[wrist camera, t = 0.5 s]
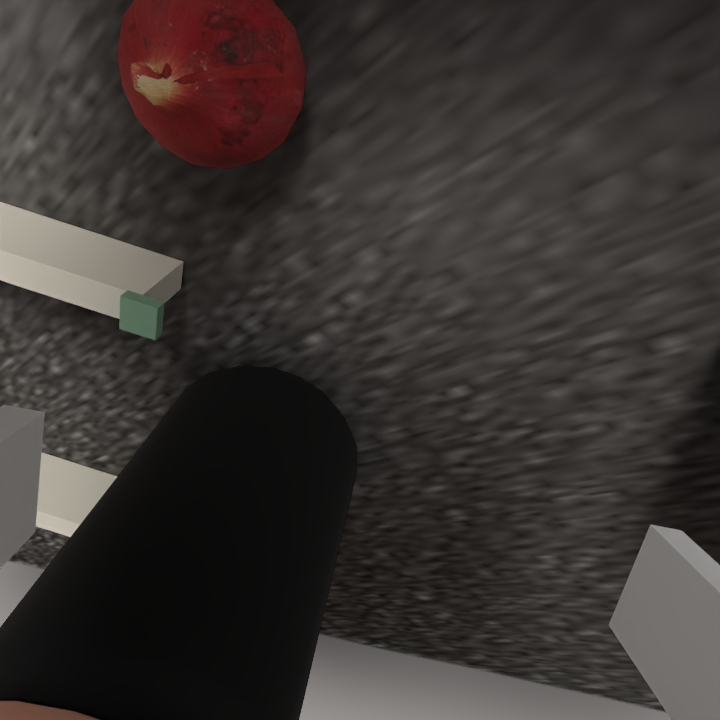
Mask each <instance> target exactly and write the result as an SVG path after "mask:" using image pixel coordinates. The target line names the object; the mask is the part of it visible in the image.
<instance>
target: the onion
mask: <svg viewBox="0 0 720 720" xmlns="http://www.w3.org/2000/svg"><path fill="white" fill-rule="evenodd" d="M117 57H118V63H119V69H120V75H121V81H122V87H123V89H124V92H125V94H126V96H127V98H128V100H129V103H130V105H131V107H132V109H133V112H134V114H135V116H136V118H137V119H138V120H139V122H140V123H141V124H142V125H143V126H144V127H145V128H146V129H147V130H148V132H149V133H150V134H151V135H152V136H153V137H154V138H155V139H156V141H157V142H158V143H159V144H160V145H161V146H162V147H164V148H165V149H167V150H169V151H170V152H172V153H174V154H176V155H177V156H179V157H181V158H182V159H184V160H186V161H187V162H189V163H191V164H195V165H199V166H207V167H215V168H223V169H230V168H234V167H237V166H240V165H244V164H247V163H251V162H254V161H257V160H261V159H263V158H264V157H265V156H266V155H268V154H269V153H270V152H271V151H273V150H274V149H275V148H276V147H278V146H279V145H280V144H281V143H283V142H284V141H285V139H286V137H287V136H288V134H289V132H290V130H291V128H292V126H293V124H294V122H295V120H296V118H297V116H298V114H299V112H300V110H301V108H302V107H303V98H304V89H305V80H306V71H307V68H306V64H305V61H304V57H303V54H302V50H301V47H300V43H299V40H298V36H297V33H296V29H295V27H294V26H293V25H292V24H291V22H290V21H289V20H288V18H287V17H286V16H285V15H284V13H283V12H282V11H281V10H280V8H279V7H278V6H277V5H276V3H275V2H274V1H273V0H134V1H133V3H132V4H131V5H130V7H129V8H128V9H127V11H126V12H125V13H124V14H123V18H122V24H121V30H120V37H119V43H118V49H117Z"/></svg>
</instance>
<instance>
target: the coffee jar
mask: <svg viewBox="0 0 720 720" xmlns="http://www.w3.org/2000/svg"><path fill="white" fill-rule="evenodd" d="M356 473H357V447H356V444H355V441H354V439H353V436H352V434H351V431H350V429H349V427H348V424H347V422H346V419H345V418H344V416H343V415H342V414H341V413H340V411H339V410H338V409H337V408H336V407H335V405H334V404H333V403H332V402H331V401H330V400H329V399H328V397H327V396H326V395H325V394H324V393H323V392H322V391H320V390H319V389H317V388H316V387H314V386H313V385H311V384H310V383H308V382H307V381H305V380H304V379H302V378H301V377H298V376H295V375H293V374H290V373H287V372H284V371H281V370H278V369H275V368H267V367H254V366H238V367H234V368H229V369H225V370H220V371H216V372H212V373H209V374H207V375H205V376H204V377H202V378H201V379H199V380H198V381H196V382H195V383H193V384H191V385H190V386H188V387H187V388H186V389H185V390H184V392H183V393H182V394H181V395H180V397H179V398H178V399H177V401H176V402H175V403H174V404H173V406H172V407H171V408H170V410H169V411H168V412H167V413H166V415H165V416H164V417H163V419H162V420H161V421H160V422H159V424H158V425H157V426H156V428H155V429H154V430H153V431H152V433H151V434H150V435H149V437H148V438H147V439H146V440H145V442H144V443H143V444H142V446H141V447H140V448H139V449H138V451H137V452H136V453H135V455H134V456H133V457H132V458H131V460H130V461H129V462H128V464H127V465H126V466H125V467H124V469H123V470H122V471H121V473H120V474H119V475H118V476H117V478H116V479H115V480H114V482H113V483H112V484H111V486H110V487H109V488H108V489H107V491H106V492H105V493H104V495H103V496H102V497H101V498H100V500H99V501H98V502H97V504H96V505H95V506H94V507H93V509H92V510H91V511H90V513H89V514H88V515H87V516H86V518H85V519H84V520H83V522H82V523H81V524H80V525H79V527H78V528H77V529H76V531H75V532H74V533H73V534H72V536H71V537H70V538H69V540H68V541H67V542H66V543H65V545H64V546H63V547H62V549H61V550H60V551H59V552H58V554H57V555H56V556H55V558H54V559H53V560H52V561H51V563H50V564H49V565H48V567H47V568H46V569H45V570H44V572H43V573H42V574H41V576H40V577H39V578H38V580H37V581H36V582H35V584H34V585H33V586H32V587H31V589H30V590H29V591H28V592H27V594H26V595H25V596H24V598H23V599H22V600H21V601H20V603H19V604H18V605H17V607H16V608H15V609H14V610H13V612H12V613H11V614H10V616H9V617H8V618H7V619H6V621H5V622H4V623H3V625H2V626H1V627H0V720H299V717H300V713H301V708H302V704H303V700H304V696H305V691H306V687H307V683H308V679H309V674H310V670H311V666H312V661H313V657H314V653H315V648H316V644H317V640H318V636H319V631H320V627H321V623H322V618H323V614H324V610H325V606H326V601H327V597H328V593H329V588H330V584H331V580H332V576H333V571H334V567H335V563H336V558H337V554H338V550H339V546H340V541H341V537H342V533H343V528H344V524H345V520H346V516H347V511H348V507H349V503H350V498H351V494H352V490H353V486H354V481H355V477H356Z"/></svg>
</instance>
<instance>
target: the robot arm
mask: <svg viewBox="0 0 720 720" xmlns="http://www.w3.org/2000/svg"><path fill="white" fill-rule="evenodd" d="M44 414H45V412H41V411H35V410H30V409H24V408H19V407H14V406H8V405H3V406H2V407H0V568H1V567H2V566H3V565H4V564H5V563H6V562H7V561H8V560H9V559H10V558H11V557H12V556H13V555H14V554H15V553H16V551H17V550H18V549H19V548H20V547H21V546H22V545H23V544H24V543H25V542H26V541H27V540H28V539H29V538H30V537H31V536H32V535H33V533H34V532H35V529H36V516H37V503H38V490H39V478H40V465H41V452H42V439H43V426H44ZM609 626H610V628H611V629H612V631H613V632H614V634H615V635H616V637H617V638H618V640H619V641H620V643H621V644H622V646H623V647H624V649H625V650H626V652H627V653H628V655H629V656H630V658H631V659H632V661H633V662H634V664H635V665H636V667H637V668H638V670H639V671H640V673H641V674H642V676H643V677H644V679H645V680H646V682H647V683H648V685H649V686H650V688H651V689H652V691H653V692H654V694H655V695H656V697H657V698H658V700H659V701H660V703H661V704H662V706H663V708H664V709H665V711H666V712H667V714H668V715H669V717H670V718H671V720H720V565H719V564H718V563H717V562H716V561H715V560H713V559H712V558H711V557H710V556H709V555H708V554H707V553H706V552H705V551H704V550H703V549H701V548H700V547H699V546H698V545H697V544H696V543H695V542H694V541H693V540H692V539H691V538H689V537H688V536H687V535H686V534H685V533H684V532H683V531H682V530H677V529H672V528H666V527H661V526H655V525H650V527H649V529H648V532H647V534H646V536H645V539H644V541H643V544H642V546H641V548H640V551H639V553H638V556H637V558H636V560H635V563H634V565H633V568H632V570H631V572H630V575H629V577H628V580H627V582H626V585H625V587H624V589H623V592H622V594H621V597H620V599H619V601H618V604H617V606H616V609H615V611H614V613H613V616H612V618H611V621H610V623H609Z"/></svg>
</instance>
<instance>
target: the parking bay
mask: <svg viewBox="0 0 720 720" xmlns="http://www.w3.org/2000/svg"><path fill="white" fill-rule="evenodd" d="M183 262H184V261H180V260H177V259H174V258H171V257H168V256H165V255H162V254H159V253H156V252H153V251H150V250H147V249H144V248H141V247H138V246H134V245H131V244H128V243H125V242H122V241H119V240H116V239H113V238H110V237H107V236H104V235H101V234H98V233H95V232H92V231H88V230H85V229H82V228H79V227H76V226H73V225H70V224H67V223H64V222H61V221H58V220H55V219H52V218H49V217H45V216H42V215H39V214H36V213H33V212H30V211H27V210H24V209H21V208H18V207H15V206H12V205H9V204H6V203H3V202H0V280H1V281H4V282H7V283H10V284H13V285H16V286H19V287H22V288H25V289H28V290H31V291H35V292H38V293H41V294H44V295H47V296H50V297H53V298H56V299H59V300H62V301H65V302H68V303H72V304H75V305H78V306H81V307H84V308H87V309H90V310H93V311H96V312H99V313H102V314H105V315H109V316H112V317H115V318H118V319H120V320H119V329H121V330H125V331H128V332H131V333H134V334H137V335H140V336H143V337H146V338H149V339H152V340H156V339H157V338H158V337H159V336H160V335H161V334H162V328H163V316H164V304H165V303H166V302H167V301H168V300H169V299H170V298H171V297H172V296H173V295H175V294H176V293H177V292H178V291H179V290H180V289H181V283H182V273H183ZM116 478H117V476H114V475H111V474H108V473H105V472H102V471H99V470H95V469H92V468H89V467H86V466H83V465H80V464H77V463H74V462H70V461H67V460H64V459H61V458H58V457H55V456H52V455H49V454H45V453H42V452H41V465H40V478H39V490H38V503H37V516H36V526H37V527H40V528H44V529H47V530H50V531H53V532H56V533H59V534H62V535H66V536H69V537H71V536H72V534H73V533H74V532H75V531H76V529H77V528H78V527H79V525H80V524H81V523H82V522H83V520H84V519H85V518H86V516H87V515H88V514H89V513H90V511H91V510H92V509H93V507H94V506H95V505H96V504H97V502H98V501H99V500H100V498H101V497H102V496H103V495H104V493H105V492H106V491H107V489H108V488H109V487H110V486H111V484H112V483H113V482H114V480H115V479H116Z"/></svg>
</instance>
